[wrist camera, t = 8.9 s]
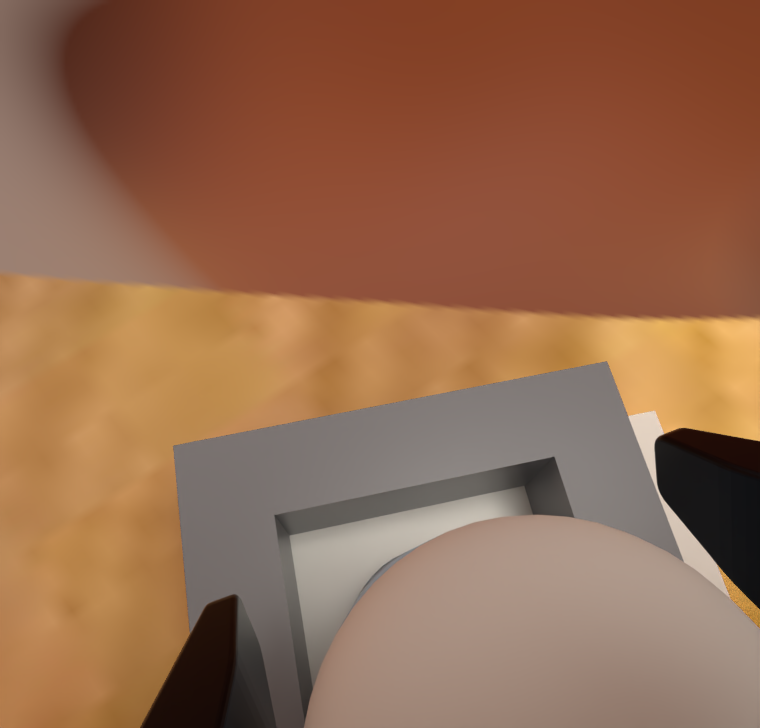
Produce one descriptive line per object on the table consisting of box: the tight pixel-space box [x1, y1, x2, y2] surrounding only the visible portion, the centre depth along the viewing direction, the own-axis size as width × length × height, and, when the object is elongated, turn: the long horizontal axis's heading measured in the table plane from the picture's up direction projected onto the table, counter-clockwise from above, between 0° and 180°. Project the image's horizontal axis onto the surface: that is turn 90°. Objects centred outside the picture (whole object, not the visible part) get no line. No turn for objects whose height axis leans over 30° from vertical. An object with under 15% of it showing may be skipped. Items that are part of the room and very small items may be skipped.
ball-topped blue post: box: [304, 515, 760, 728], centre depth 10 cm, size 4×4×12 cm
